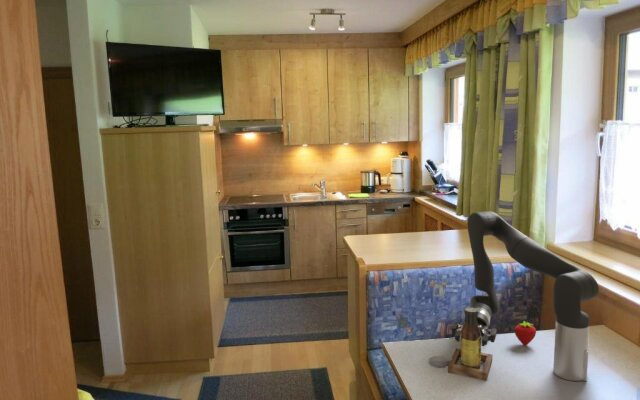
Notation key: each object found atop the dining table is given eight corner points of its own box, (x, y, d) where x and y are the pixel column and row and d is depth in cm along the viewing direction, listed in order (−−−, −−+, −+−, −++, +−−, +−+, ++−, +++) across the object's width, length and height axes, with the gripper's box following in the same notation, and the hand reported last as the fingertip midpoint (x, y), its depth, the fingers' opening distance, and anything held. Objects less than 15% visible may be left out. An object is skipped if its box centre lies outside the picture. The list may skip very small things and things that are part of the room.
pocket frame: (492, 361, 157) (492, 354, 157) (486, 380, 146) (487, 373, 146) (455, 354, 163) (456, 347, 162) (448, 372, 151) (448, 365, 151)
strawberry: (510, 342, 170) (511, 316, 169) (530, 340, 171) (531, 314, 169) (518, 349, 165) (519, 323, 163) (539, 348, 165) (540, 321, 164)
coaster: (452, 359, 160) (452, 357, 159) (447, 369, 153) (447, 367, 153) (431, 355, 163) (431, 353, 163) (426, 365, 157) (426, 363, 156)
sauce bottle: (483, 372, 151) (484, 313, 148) (463, 372, 151) (464, 314, 148) (477, 361, 158) (478, 305, 154) (458, 362, 158) (459, 306, 154)
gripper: (457, 308, 168) (447, 326, 154) (499, 314, 161) (493, 334, 147) (457, 328, 169) (447, 347, 155) (499, 335, 163) (493, 356, 148)
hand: (470, 341), depth 151 cm, fingers open, 7 cm apart
